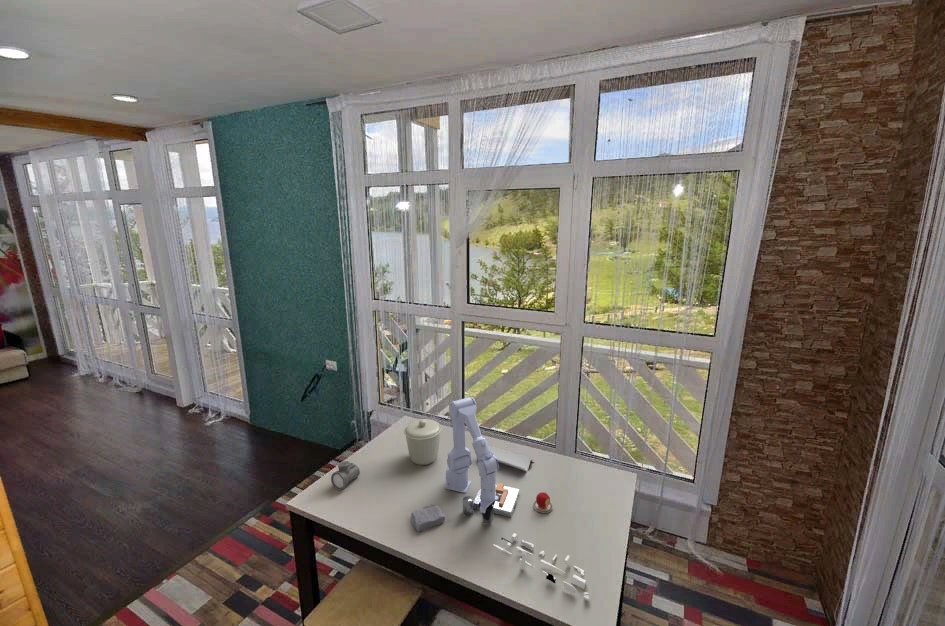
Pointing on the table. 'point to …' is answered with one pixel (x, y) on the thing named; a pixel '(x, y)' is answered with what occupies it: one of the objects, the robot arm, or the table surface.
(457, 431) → the robot arm
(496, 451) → the z bracket
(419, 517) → the stone block
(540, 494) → the red apple on plate
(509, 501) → the silver base plate
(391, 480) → the table surface
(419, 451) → the canister
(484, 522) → the grey rectangular box
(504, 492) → the bracket
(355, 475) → the pipe fitting
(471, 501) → the stub post
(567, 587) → the miniature set
